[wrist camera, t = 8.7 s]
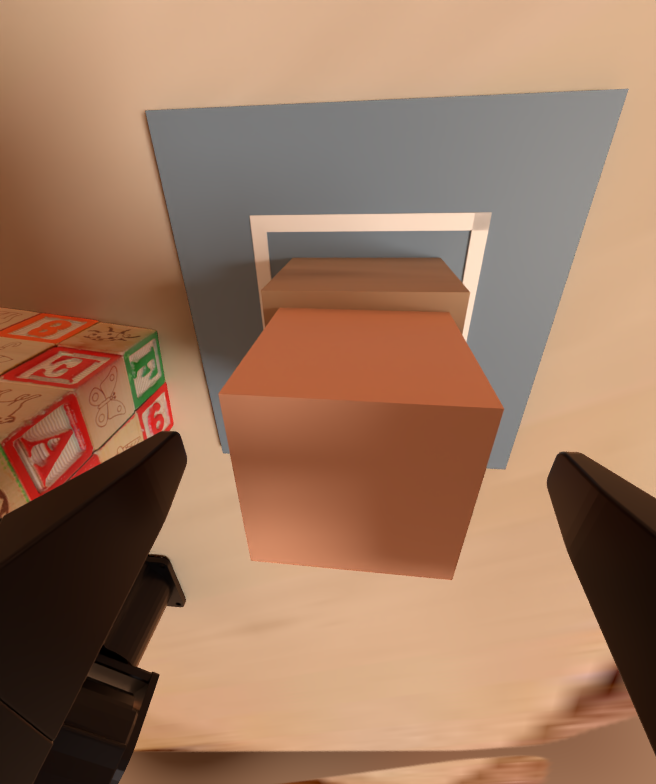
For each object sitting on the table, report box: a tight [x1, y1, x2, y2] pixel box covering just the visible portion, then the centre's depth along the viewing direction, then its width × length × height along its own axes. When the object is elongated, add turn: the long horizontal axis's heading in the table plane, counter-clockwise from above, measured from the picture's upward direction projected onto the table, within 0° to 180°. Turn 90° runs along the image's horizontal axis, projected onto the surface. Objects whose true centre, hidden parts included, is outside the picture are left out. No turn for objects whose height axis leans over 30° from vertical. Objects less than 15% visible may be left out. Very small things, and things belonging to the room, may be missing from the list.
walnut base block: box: [261, 258, 470, 334], centre depth 14 cm, size 6×6×5 cm
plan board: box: [145, 89, 628, 469], centre depth 16 cm, size 16×16×1 cm
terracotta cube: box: [218, 308, 504, 580], centre depth 10 cm, size 5×5×5 cm
